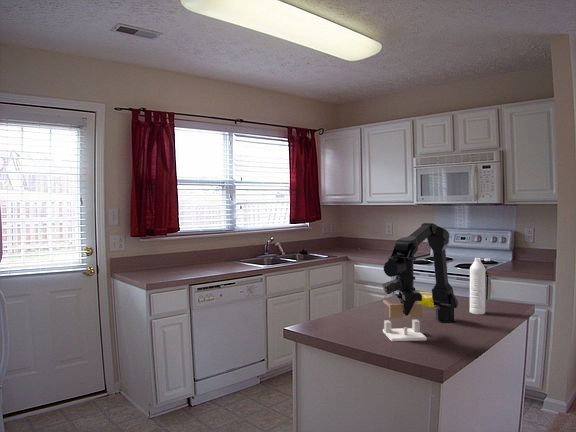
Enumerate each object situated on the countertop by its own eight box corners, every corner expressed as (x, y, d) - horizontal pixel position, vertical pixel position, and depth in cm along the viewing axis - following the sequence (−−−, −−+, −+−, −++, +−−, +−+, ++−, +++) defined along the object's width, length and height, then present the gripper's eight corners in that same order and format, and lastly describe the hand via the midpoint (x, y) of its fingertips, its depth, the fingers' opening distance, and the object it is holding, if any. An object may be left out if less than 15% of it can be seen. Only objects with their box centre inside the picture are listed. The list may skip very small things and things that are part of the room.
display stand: (382, 331, 170) (382, 319, 170) (415, 330, 171) (415, 318, 171) (391, 341, 158) (391, 327, 158) (426, 340, 159) (426, 327, 159)
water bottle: (467, 313, 196) (467, 257, 195) (472, 310, 201) (472, 256, 200) (487, 316, 190) (487, 259, 190) (492, 313, 195) (492, 258, 194)
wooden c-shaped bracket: (383, 312, 171) (383, 299, 171) (413, 311, 172) (413, 299, 172) (390, 318, 161) (390, 305, 161) (422, 317, 162) (422, 304, 162)
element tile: (441, 302, 220) (441, 292, 220) (434, 308, 207) (434, 298, 207) (412, 298, 228) (412, 289, 228) (403, 304, 215) (403, 295, 215)
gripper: (377, 269, 171) (378, 309, 171) (391, 278, 152) (391, 322, 153) (405, 269, 171) (405, 308, 172) (422, 277, 153) (422, 321, 153)
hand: (405, 314), depth 162 cm, fingers closed on wooden c-shaped bracket
